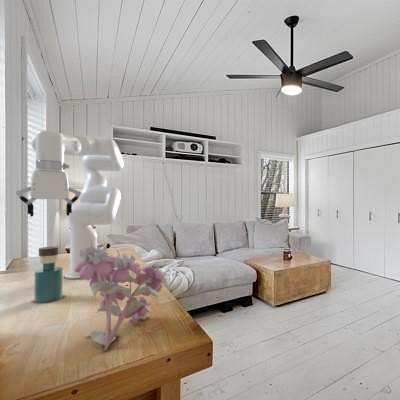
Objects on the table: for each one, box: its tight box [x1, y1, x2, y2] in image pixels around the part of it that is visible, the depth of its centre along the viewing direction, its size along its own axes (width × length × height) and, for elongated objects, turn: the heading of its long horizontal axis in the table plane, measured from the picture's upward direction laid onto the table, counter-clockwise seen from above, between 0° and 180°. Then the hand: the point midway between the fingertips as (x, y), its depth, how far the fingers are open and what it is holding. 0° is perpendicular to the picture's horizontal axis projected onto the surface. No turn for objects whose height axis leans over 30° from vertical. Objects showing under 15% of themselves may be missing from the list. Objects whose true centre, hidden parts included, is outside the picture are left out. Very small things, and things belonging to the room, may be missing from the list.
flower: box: [75, 243, 168, 351], centre depth 76 cm, size 20×22×25 cm
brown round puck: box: [38, 246, 60, 257], centre depth 98 cm, size 5×5×2 cm
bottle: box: [33, 254, 64, 304], centre depth 99 cm, size 7×7×15 cm
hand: (50, 215), depth 103 cm, fingers open, 9 cm apart
